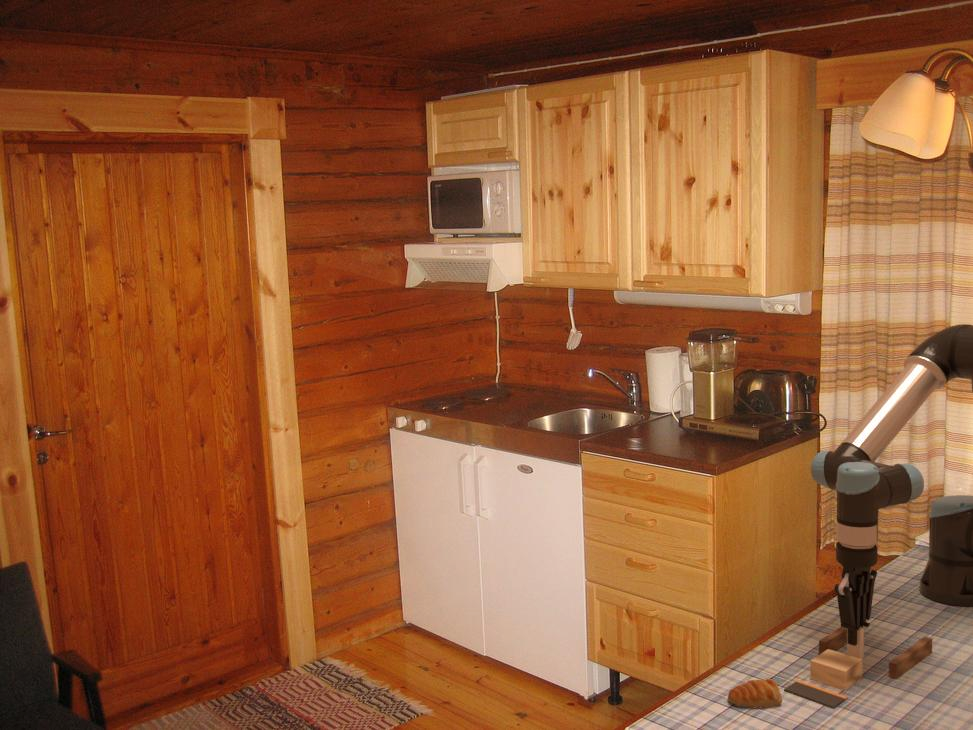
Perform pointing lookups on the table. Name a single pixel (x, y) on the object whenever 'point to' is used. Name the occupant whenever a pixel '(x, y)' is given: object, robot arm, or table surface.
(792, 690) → the pad
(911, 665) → the lane
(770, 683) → the pastry
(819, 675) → the block
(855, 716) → the table surface
